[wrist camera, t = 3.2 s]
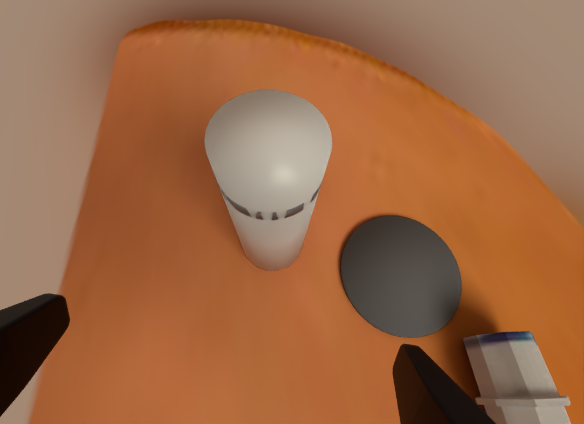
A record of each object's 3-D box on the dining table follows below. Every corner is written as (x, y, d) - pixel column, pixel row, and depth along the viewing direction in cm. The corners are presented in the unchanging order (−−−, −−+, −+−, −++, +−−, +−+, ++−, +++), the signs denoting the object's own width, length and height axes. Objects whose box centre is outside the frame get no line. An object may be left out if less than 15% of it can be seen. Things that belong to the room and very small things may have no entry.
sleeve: (264, 283, 20) (249, 218, 9) (231, 233, 22) (181, 122, 10) (314, 248, 22) (357, 151, 10) (280, 203, 23) (284, 74, 11)
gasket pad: (398, 366, 19) (400, 367, 18) (316, 257, 21) (317, 256, 21) (483, 287, 21) (486, 286, 21) (400, 197, 24) (401, 196, 23)
